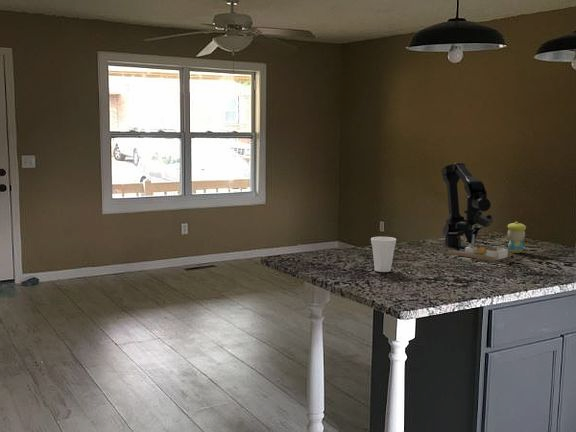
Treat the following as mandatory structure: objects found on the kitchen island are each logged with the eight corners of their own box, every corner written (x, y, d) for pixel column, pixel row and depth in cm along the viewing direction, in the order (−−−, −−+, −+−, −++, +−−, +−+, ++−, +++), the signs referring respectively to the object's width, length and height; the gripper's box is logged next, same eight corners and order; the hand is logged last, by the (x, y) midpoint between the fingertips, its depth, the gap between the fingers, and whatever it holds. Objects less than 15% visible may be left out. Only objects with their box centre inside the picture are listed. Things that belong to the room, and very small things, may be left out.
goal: (486, 258, 271) (486, 250, 271) (497, 255, 278) (497, 247, 278) (496, 260, 268) (497, 252, 267) (507, 257, 275) (508, 249, 274)
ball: (475, 255, 278) (476, 247, 278) (479, 254, 281) (480, 246, 280) (483, 256, 276) (483, 248, 275) (486, 255, 278) (487, 247, 278)
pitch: (447, 255, 281) (447, 250, 281) (466, 250, 293) (466, 246, 292) (493, 262, 266) (493, 257, 266) (511, 257, 277) (511, 252, 277)
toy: (521, 252, 290) (523, 220, 288) (526, 256, 281) (528, 223, 279) (503, 251, 291) (505, 219, 289) (508, 255, 282) (510, 222, 280)
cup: (365, 269, 251) (366, 237, 249) (386, 267, 255) (387, 235, 253) (378, 274, 242) (379, 241, 240) (400, 272, 245) (401, 239, 244)
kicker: (464, 252, 282) (465, 234, 281) (469, 251, 285) (469, 233, 283) (473, 254, 279) (473, 235, 278) (477, 253, 282) (478, 234, 281)
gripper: (479, 212, 267) (477, 248, 269) (500, 208, 280) (498, 243, 282) (456, 209, 275) (454, 244, 277) (477, 206, 288) (475, 240, 290)
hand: (471, 243), depth 281 cm, fingers closed on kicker, 2 cm apart
